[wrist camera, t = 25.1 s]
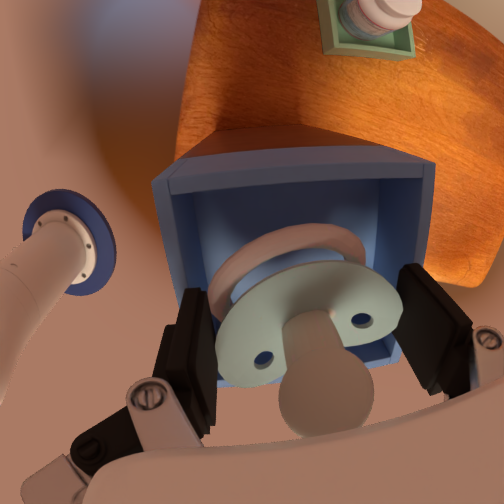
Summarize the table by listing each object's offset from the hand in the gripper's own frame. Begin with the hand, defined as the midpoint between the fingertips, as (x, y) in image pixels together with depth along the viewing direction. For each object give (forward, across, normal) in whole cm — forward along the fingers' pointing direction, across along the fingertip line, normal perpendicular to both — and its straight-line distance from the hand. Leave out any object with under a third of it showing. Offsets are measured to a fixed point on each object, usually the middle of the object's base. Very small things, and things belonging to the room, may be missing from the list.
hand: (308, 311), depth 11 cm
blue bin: (+27, 0, 0) cm, 27 cm away
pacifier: (+2, 0, 0) cm, 2 cm away
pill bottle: (+27, -14, -19) cm, 36 cm away
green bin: (+27, -14, -19) cm, 36 cm away
